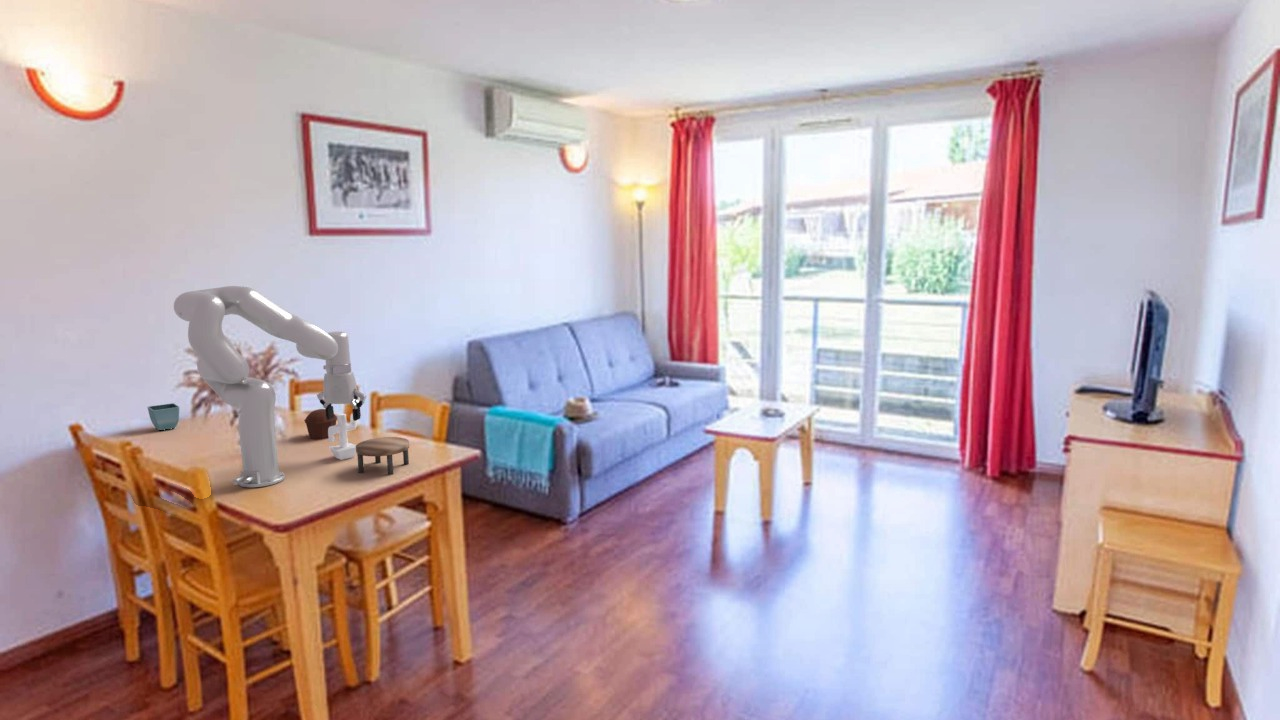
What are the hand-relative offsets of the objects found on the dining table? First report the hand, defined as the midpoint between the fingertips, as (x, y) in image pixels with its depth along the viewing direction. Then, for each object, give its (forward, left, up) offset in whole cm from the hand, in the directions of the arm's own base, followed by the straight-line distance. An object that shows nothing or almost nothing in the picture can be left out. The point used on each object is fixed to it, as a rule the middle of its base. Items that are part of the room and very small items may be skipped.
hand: (343, 419), depth 235 cm
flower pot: (+19, +88, -13) cm, 91 cm away
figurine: (-1, 0, -13) cm, 13 cm away
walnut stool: (-9, -19, -13) cm, 24 cm away
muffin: (+21, +23, -13) cm, 34 cm away
